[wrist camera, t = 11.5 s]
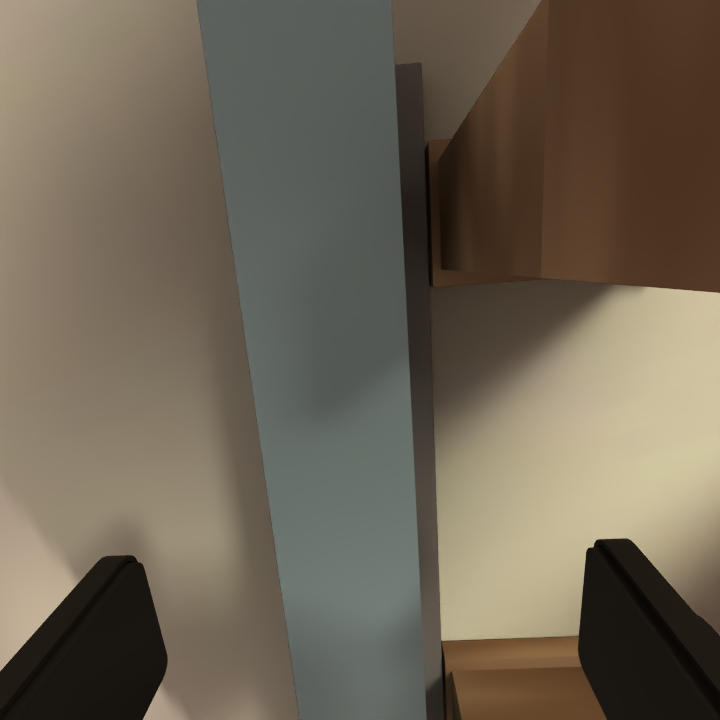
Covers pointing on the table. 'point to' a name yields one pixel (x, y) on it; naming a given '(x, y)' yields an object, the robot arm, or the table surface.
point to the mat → (420, 368)
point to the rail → (326, 334)
